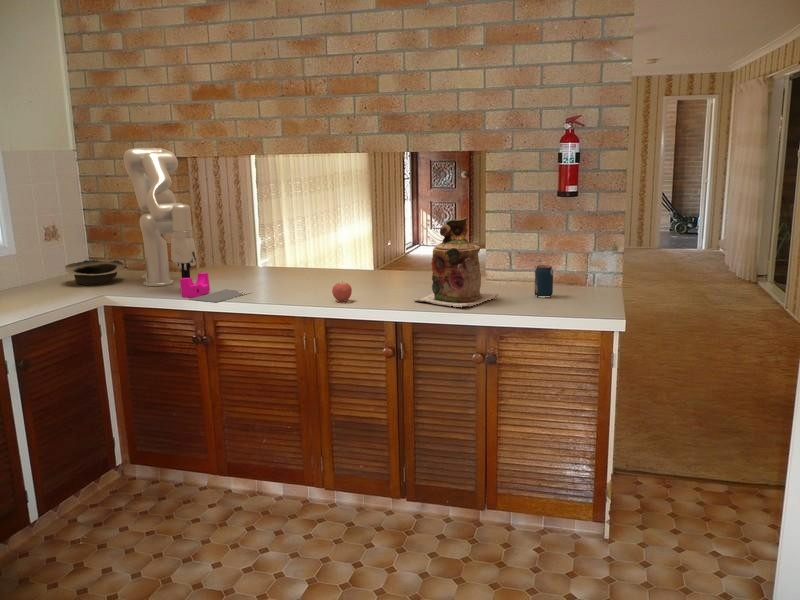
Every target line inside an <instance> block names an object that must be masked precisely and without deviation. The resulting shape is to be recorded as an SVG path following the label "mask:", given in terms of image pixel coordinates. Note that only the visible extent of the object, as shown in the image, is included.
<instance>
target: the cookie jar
mask: <svg viewBox="0 0 800 600" xmlns="http://www.w3.org/2000/svg"><path fill="white" fill-rule="evenodd" d="M467 221H468V217H464V218H462V219H450V220H448V221H447V222H446V223H445V224H444V225H442V226H441V227H440V228H439V233H440V236H442V237H444V238H443V239H442V242H439V243H438V244H437V245H436V246H435V247H433V249H432V258H431V261H430V262H431V271H432V277H431V280H432V285H431V288H432V289H431V290H432V294H431V293H430V294H428V295H427V296H424V297H420V298H416V297H415V298H413V301H414V302H426V303H431V304H434V305H440V306H447V307H451V306H453V307H452V308H456V307H461V308H462V307H471V306H473V305H475V306H477V305H476V304H478V305H480V304H479V303H481V304H483V303H482V302H484V301H487V300H490V301H492V300H491V299H493V300H495V299H494V298H497V299H498V297H499V295H500V294H499V293H486V292H485V293H483V292H482V293H481V291H480V290H481V287H482V274H481V268H480V265H481V264H480V259H479V253H480V251H481V246H479V245H476V244H473V243H471V242H470V241H468V239H467V238H466V236H467V234H468V231H469V229H468V228H467V227H468V223H467ZM415 300H416V301H415ZM487 302H488V301H487ZM484 303H485V302H484ZM473 307H474V306H473Z"/></svg>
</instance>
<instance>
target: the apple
mask: <svg viewBox="0 0 800 600" xmlns="http://www.w3.org/2000/svg"><path fill="white" fill-rule="evenodd" d="M331 289H332V290H331V291H332V295H333V297H334V299H335V300H336V301H337V302H340V303H341V302H346V301H348V300H349V299H350V298H351V297H352V286H351V285H350V284H349V283H348V282H344V281H343V280H342V282H338V283H335V284H334V285H333V287H332V288H331Z"/></svg>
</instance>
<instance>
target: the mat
mask: <svg viewBox="0 0 800 600" xmlns="http://www.w3.org/2000/svg"><path fill="white" fill-rule="evenodd" d="M237 290H238V289H236V290H235V289H228V288H227V289H223V290H222V289H221V290H217V291H214V292H209V293H206V294H204V295H201V296H198V297H190V298H188V300H189V301H196V302H197V301H198V302H206V303H208V302H209V303H219V302H220V301H221V302H223V300H224V301H227V300H226V299H228V300H231V299H234V298H233V297H235V298H238V297H237V296H239V297H241V296H240V295H242V296H244V295H243V294H242V293H243V292H242V293H239V292H238V291H239V290H238V291H237ZM244 294H245V293H244ZM230 298H231V299H230ZM221 302H220V303H221Z"/></svg>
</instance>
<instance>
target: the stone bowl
mask: <svg viewBox="0 0 800 600" xmlns="http://www.w3.org/2000/svg"><path fill="white" fill-rule="evenodd" d="M64 269H65V270H64V271H65V272H66V273H68V274H69V275H70V274H71V275H73V276H74V280H75V282H76V284H78V285H84V286H92V285H93V286H95V285H103V284H104V283H107V282H109V281H112V280H113V279H115V278H116V277H117V276H118V272H119V271H122V270H123V269H124V263H123V262H121V261H120V260H115V259H114V260H112V261H103V260H98V259H91V260H87V259H85V260H83V261H78V262H73V263H70V264H69V263H68V264H67V265H64Z"/></svg>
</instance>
